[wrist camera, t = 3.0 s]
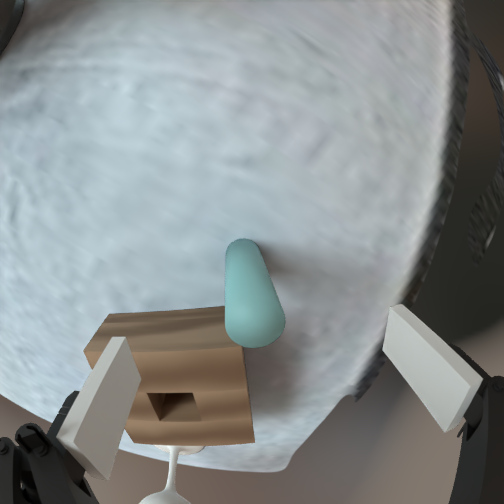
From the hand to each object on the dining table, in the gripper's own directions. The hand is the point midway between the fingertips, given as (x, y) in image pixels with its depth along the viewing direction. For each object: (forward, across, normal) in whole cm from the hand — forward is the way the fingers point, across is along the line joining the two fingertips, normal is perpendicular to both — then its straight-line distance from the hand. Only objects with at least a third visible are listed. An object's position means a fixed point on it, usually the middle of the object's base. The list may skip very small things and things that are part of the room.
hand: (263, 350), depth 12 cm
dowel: (+14, 0, 0) cm, 14 cm away
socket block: (+14, -8, -12) cm, 20 cm away
